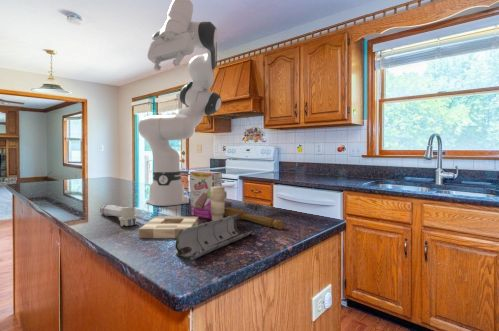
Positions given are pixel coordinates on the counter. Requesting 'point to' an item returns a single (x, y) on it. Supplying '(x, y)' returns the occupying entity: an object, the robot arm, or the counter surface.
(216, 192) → the peg
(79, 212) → the counter surface
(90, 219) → the counter surface
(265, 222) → the tap handle
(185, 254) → the grey angled channel
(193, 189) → the candy bar box
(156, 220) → the board
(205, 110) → the robot arm
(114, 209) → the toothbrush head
